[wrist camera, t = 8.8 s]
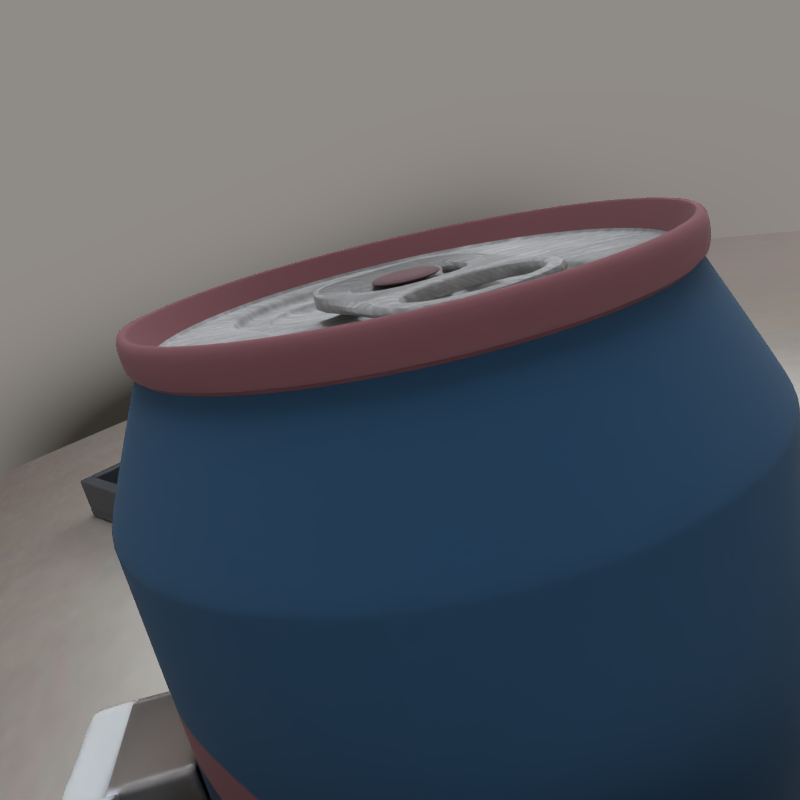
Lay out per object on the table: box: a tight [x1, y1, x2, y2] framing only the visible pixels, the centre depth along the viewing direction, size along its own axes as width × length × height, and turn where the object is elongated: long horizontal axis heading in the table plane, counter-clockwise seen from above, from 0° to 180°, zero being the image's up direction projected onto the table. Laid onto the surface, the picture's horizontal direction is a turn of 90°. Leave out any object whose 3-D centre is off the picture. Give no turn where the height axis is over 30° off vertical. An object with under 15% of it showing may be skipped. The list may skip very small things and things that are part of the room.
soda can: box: [112, 197, 800, 800], centre depth 9 cm, size 7×7×12 cm
